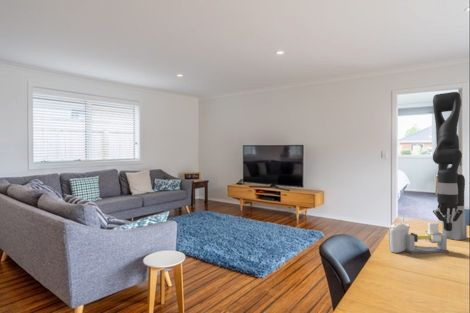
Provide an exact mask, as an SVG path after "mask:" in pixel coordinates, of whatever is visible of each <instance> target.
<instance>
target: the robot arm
mask: <svg viewBox="0 0 470 313" xmlns="http://www.w3.org/2000/svg"><path fill="white" fill-rule="evenodd" d="M461 99H462V98H461V95H460V93H459V92H458V91H450V92H445V93H438V94H435V95H434V96H433V99H432V107H433V114H434V121H435V136H436V142H435V143H436V146H435V149H434V151H433V154H432V160H433V162H434V163H435V164H437V165H438V171H437V186H436V187H437V189H436V190H437V195H436V196H437V203H438V205H437V208H436V209H433V210H432V213H433V214H434V216H436V218H437V219H438V221H440V222H442V223H441V224H442V225H441V226H442V234H445V235H446V237H447V240H448V239H449V240H456V241H463V240H466V239H467V238H468V235H467V229H468V228H467V220H466V219H465V217H466V216H465V189H466V188H465V187H466V186H465V185H466V179H465V176H464V174H460V173H459V174H458V171H459V166H460V164H461V161H462V158H463V153H462V151H461V150H460V140H459V135H458V132H457V131H458V125H459V124H458V123H459V120H460V112H461V107H462V106H461V104H462V100H461ZM444 112H450V114H449V116H448V117H447V118H446V119H445V118H444V115H443V113H444ZM449 165H451V166H450V167H449ZM448 167H449V168H448Z"/></svg>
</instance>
